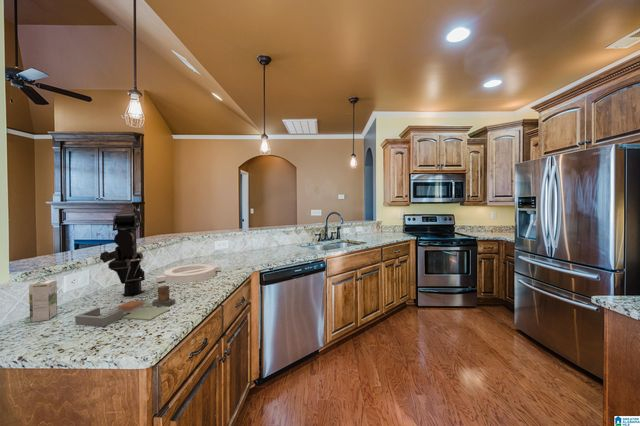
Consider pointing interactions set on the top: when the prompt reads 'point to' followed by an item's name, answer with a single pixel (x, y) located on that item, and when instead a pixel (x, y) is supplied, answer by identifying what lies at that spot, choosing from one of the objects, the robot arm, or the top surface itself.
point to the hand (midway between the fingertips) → (127, 280)
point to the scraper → (163, 297)
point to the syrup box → (43, 300)
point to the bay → (98, 318)
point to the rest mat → (146, 313)
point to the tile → (130, 305)
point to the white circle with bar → (189, 273)
